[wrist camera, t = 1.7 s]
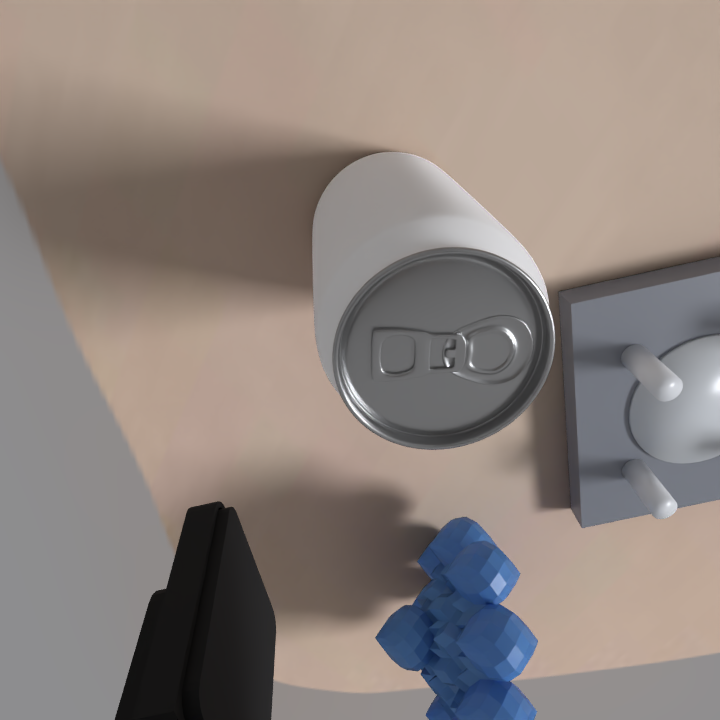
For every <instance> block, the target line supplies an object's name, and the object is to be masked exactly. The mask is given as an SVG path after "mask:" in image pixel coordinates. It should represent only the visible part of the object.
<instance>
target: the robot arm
mask: <svg viewBox="0 0 720 720" xmlns="http://www.w3.org/2000/svg"><path fill="white" fill-rule="evenodd" d="M275 639H276V622H275V615H274V611H273V608H272V605H271V603H270V600H269V597H268V595H267V592H266V589H265V587H264V584H263V582H262V579H261V576H260V574H259V571H258V568H257V566H256V563H255V560H254V558H253V555H252V552H251V550H250V547H249V545H248V542H247V539H246V537H245V534H244V531H243V529H242V526H241V523H240V521H239V518H238V515H237V513H236V511H235V509H234V508H233V507H229V508H225V507H224V505H223V504H222V502H219V501H218V502H214V503H209V504H205V505H200V506H195V507H191V508H189V509H188V511H187V513H186V517H185V521H184V525H183V528H182V532H181V536H180V540H179V543H178V547H177V551H176V555H175V558H174V562H173V566H172V570H171V573H170V577H169V581H168V585H167V588H166V589H163V590H158V591H156V592H155V593H154V594H153V595H152V597H151V599H150V602H149V604H148V608H147V611H146V615H145V618H144V622H143V625H142V628H141V632H140V635H139V639H138V642H137V646H136V649H135V652H134V656H133V659H132V662H131V666H130V669H129V673H128V676H127V679H126V683H125V686H124V690H123V693H122V697H121V700H120V703H119V707H118V710H117V714H116V717H115V720H271V712H272V694H273V693H272V692H273V676H274V657H275Z"/></svg>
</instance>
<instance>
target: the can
mask: <svg viewBox="0 0 720 720" xmlns="http://www.w3.org/2000/svg"><path fill="white" fill-rule="evenodd" d="M312 260H313V301H314V325H315V337H316V344H317V349H318V353H319V357H320V360H321V363H322V366H323V369H324V371H325V373H326V375H327V377H328V379H329V381H330V382H331V384H332V385H333V387H334V388H335V390H336V391H337V392H338V393H339V395H340V396H341V397H342V399H343V401H344V403H345V404H346V406H347V408H348V409H349V410H350V412H351V413H352V414H353V415H354V417H355V418H356V419H357V420H358V421H359V422H360V423H361V424H363V425H364V426H365V427H366V428H367V429H369V430H370V431H372V432H373V433H375V434H376V435H378V436H380V437H382V438H384V439H386V440H388V441H390V442H393V443H396V444H399V445H402V446H406V447H411V448H417V449H428V450H437V449H449V448H456V447H460V446H465V445H468V444H471V443H474V442H477V441H480V440H482V439H485V438H487V437H489V436H491V435H493V434H495V433H497V432H498V431H500V430H501V429H503V428H505V427H506V426H507V425H509V424H510V423H511V422H513V421H514V420H515V419H516V418H517V417H519V416H520V415H521V414H522V413H523V412H524V411H525V410H526V409H527V408H528V406H529V405H530V404H531V403H532V402H533V400H534V399H535V398H536V396H537V395H538V393H539V392H540V390H541V388H542V387H543V385H544V383H545V381H546V379H547V376H548V374H549V371H550V368H551V365H552V361H553V357H554V351H555V327H554V321H553V316H552V313H551V310H550V307H549V300H548V294H547V290H546V286H545V283H544V280H543V277H542V275H541V273H540V271H539V269H538V267H537V265H536V264H535V262H534V260H533V259H532V257H531V256H530V254H529V253H528V252H527V250H526V249H525V248H524V247H523V246H522V245H521V243H520V242H519V241H518V240H517V239H516V238H515V237H514V236H513V235H512V234H511V233H510V232H509V231H508V230H507V229H506V228H505V227H504V226H503V225H502V224H501V223H500V222H499V221H497V220H496V219H495V218H494V217H493V216H492V215H491V214H490V213H489V212H488V211H487V210H486V209H485V208H484V207H483V206H482V205H480V204H479V203H478V202H477V201H476V200H475V199H474V198H473V197H472V196H471V195H470V194H469V193H468V192H466V191H465V190H464V189H463V188H462V187H461V186H460V185H459V184H458V183H457V182H456V181H454V180H453V179H452V178H451V177H450V176H449V175H448V174H447V173H445V172H444V171H443V170H442V169H440V168H439V167H438V166H436V165H435V164H433V163H432V162H430V161H428V160H426V159H424V158H422V157H419V156H416V155H413V154H409V153H403V152H382V153H376V154H372V155H369V156H366V157H363V158H361V159H359V160H357V161H355V162H353V163H351V164H350V165H348V166H347V167H345V168H344V169H343V170H342V171H340V172H339V173H338V174H337V175H336V176H335V177H334V178H333V179H332V181H331V182H330V183H329V184H328V186H327V187H326V189H325V190H324V192H323V194H322V196H321V198H320V200H319V202H318V205H317V208H316V211H315V215H314V220H313V230H312Z"/></svg>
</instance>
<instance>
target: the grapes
mask: <svg viewBox="0 0 720 720" xmlns="http://www.w3.org/2000/svg"><path fill="white" fill-rule="evenodd" d="M417 562H418V563H419V565H420V566H421V567H422V569H423V570H424V571H425V572H426V574H427V575H428V576H429V577H430V578H431V581H430V583H429V584H427V585H426V586H425V587H424V588H423V589H422V591H421V592H420V594H419V595H418V597H417V598H416V600H415V601H414V603H413V605H404V606H403V607H401V608H400V609H398V610H397V611H396V612H395V613H393V614H392V615H391V616H390V617H389V618H388V620H387V621H386V623H385V624H384V626H383V627H382V628H381V630H380V631H379V633H378V634H377V636H376V637H375V638H376V640H377V641H378V642H379V644H380V645H381V646H382V648H383V649H384V650H385V651H386V653H387V654H388V655H389V657H390V658H391V659H392V660H393V661H394V662H396V663H397V664H398V665H399V666H400V667H402V668H404V669H406V670H412V671H419V670H420V669H421V670H422V672H421V675H422V677H423V678H424V679H425V681H426V682H427V684H428V685H429V686H430V687H431V689H432V690H433V691H434V693H435V694H437V696H436V697H435V699H434V700H433V702H432V703H431V705H430V707H429V709H428V711H427V713H426V716H427V717H428V719H429V720H534V718H535V716H536V713H537V711H536V709H535V708H534V707H533V705H532V704H531V703H530V701H529V700H528V699H527V698H526V696H525V695H524V694H523V693H522V692H521V690H520V689H519V688H518V687H517V686H515V685H514V684H513V683H512V682H510V681H511V680H512V679H514V678H515V677H517V676H518V675H520V674H521V672H522V671H523V669H524V668H525V666H526V664H527V663H528V661H529V660H530V658H531V656H532V655H533V653H534V650H535V648H536V645H537V643H538V640H537V639H536V637H535V636H534V635H533V633H532V632H531V630H530V629H529V628H528V627H527V626H526V625H525V624H524V622H523V621H522V620H521V619H520V618H519V617H518V616H517V615H516V614H514V613H513V612H511V611H510V610H508V609H507V608H505V607H503V606H502V605H500V604H499V603H501V602H502V601H504V599H505V598H506V597H507V596H508V595H509V593H510V592H511V590H512V589H513V587H514V586H515V584H516V582H517V580H518V578H519V576H520V573H519V571H518V570H517V568H516V567H515V565H514V564H513V563H512V562H511V561H510V559H509V558H508V557H507V556H506V555H505V554H504V553H503V552H502V551H501V550H500V549H499V548H498V547H497V546H496V544H495V543H494V541H493V540H492V539H491V537H490V536H489V535H488V534H487V533H486V532H485V531H484V530H483V528H482V527H481V526H480V525H479V524H478V523H477V522H475V521H473V520H471V519H469V518H467V517H461V518H455V519H453V520H451V521H450V522H449V523H447V524H446V525H445V526H444V527H443V528H442V529H441V530H440V532H439V533H438V534H437V536H436V537H435V539H434V540H433V541H432V542H431V543H430V544H429V545H428V547H427V548H426V550H425V551H424V552H423V554H422V555H421V557H420V558H419V560H418V561H417Z"/></svg>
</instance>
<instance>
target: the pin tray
mask: <svg viewBox="0 0 720 720" xmlns="http://www.w3.org/2000/svg"><path fill="white" fill-rule="evenodd" d="M559 309H560V326H561V344H562V361H563V378H564V395H565V412H566V430H567V447H568V464H569V481H570V498H571V510H572V512H573V513H574V515H575V517H576V519H577V520H578V522H579V524H580V526H581V527H582V528H585V527H590V526H595V525H599V524H604V523H609V522H614V521H619V520H623V519H628V518H633V517H638V516H643V515H647V514H652V515H653V516H654V517H655V518H657V519H664V518H668V517H670V516H671V515H672V514H674V513H675V511H676V509H677V508H681V507H686V506H691V505H695V504H700V503H705V502H710V501H715V500H719V499H720V256H719V257H715V258H710V259H706V260H701V261H696V262H692V263H687V264H683V265H678V266H674V267H669V268H664V269H660V270H655V271H651V272H646V273H642V274H637V275H632V276H628V277H623V278H619V279H614V280H610V281H605V282H600V283H596V284H591V285H587V286H582V287H578V288H573V289H568V290H564V291H559Z"/></svg>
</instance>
